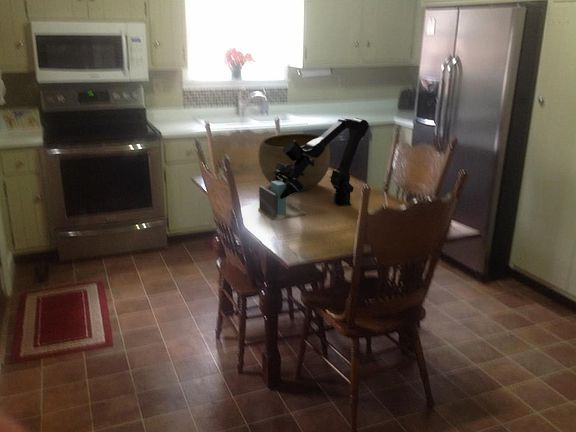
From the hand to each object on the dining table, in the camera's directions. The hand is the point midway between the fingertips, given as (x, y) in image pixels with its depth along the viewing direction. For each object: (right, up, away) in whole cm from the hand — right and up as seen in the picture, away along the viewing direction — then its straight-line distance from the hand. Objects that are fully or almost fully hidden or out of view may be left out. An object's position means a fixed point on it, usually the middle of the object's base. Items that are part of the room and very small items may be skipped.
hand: (275, 195), depth 234 cm
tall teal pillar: (+1, -7, +3) cm, 8 cm away
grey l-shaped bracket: (+3, -7, +5) cm, 9 cm away
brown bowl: (+8, +6, +43) cm, 44 cm away
